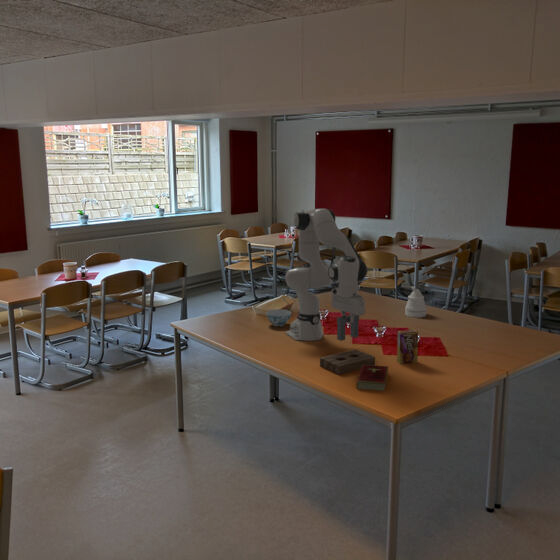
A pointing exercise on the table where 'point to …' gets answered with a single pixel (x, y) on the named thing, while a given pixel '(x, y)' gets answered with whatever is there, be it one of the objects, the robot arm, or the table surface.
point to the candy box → (407, 347)
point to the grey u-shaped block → (341, 326)
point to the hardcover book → (372, 377)
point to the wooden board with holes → (346, 361)
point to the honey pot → (415, 304)
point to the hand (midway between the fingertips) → (348, 320)
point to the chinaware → (278, 317)
